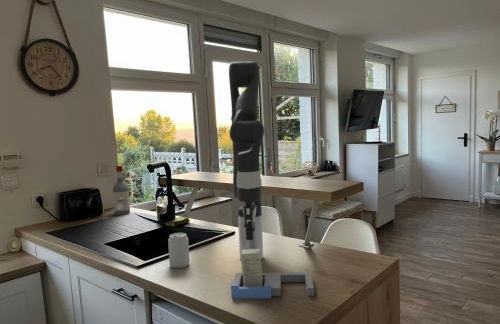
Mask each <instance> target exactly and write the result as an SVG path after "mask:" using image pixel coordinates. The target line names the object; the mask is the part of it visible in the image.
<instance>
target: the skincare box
mask: <svg viewBox="0 0 500 324" xmlns="http://www.w3.org/2000/svg"><path fill="white" fill-rule="evenodd" d="M241 258H242V260H241V269H242V271H241V273H243V283H242V284H243V285H242V287H264V284H263V282H262V273H263V271H262V270H263V268H262V267H263V266H262V259H261V252H260V249H246V250H242V251H241Z"/></svg>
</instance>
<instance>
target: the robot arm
mask: <svg viewBox="0 0 500 324" xmlns="http://www.w3.org/2000/svg"><path fill="white" fill-rule="evenodd" d="M228 81H229V91H230V102H231V103H230V105H231V125H230V129H229V137H230V141H231V142H232V152H233V153H232V154H233V158H232V159H233V163H232V164H233V171H232V174H233V175H232V177H233V178H232V181H233V182H232V185H233V186H232V190H233V195H234V198H236V199H237V200H238V201H239V202H241V203H242V202H244V203H245V204H243V205H241V206H240V207H238V210H237V215H238V216H237V217H238V218H237V219H238V221H237V222H238V240H239V241H238V245H239V246H238V247H239V248H238V249H239V259H240V260H241V261H242V258H241V251H242V250H246V249H260V252H261V260H263V259H264V243H263V240H264V239H263V215H262V214H263V213H262V212H263V211H262V187H263V186H262V178H261V172H260V152H261V147H262V143H263V141H264V140H263V139H264V135H265V127H264V124H263V123H262V122H261V121H259V120H258V97H259V96H258V95H259V88H260V87H259V86H260V67H259V64H258V63H257V61H249V60H248V61H231V62H230V64H229V66H228ZM240 88H241V89H242V88H245V89H244V90H243V91H242V93H241V94H240V91H239V89H240Z"/></svg>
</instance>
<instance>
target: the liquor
mask: <svg viewBox="0 0 500 324" xmlns="http://www.w3.org/2000/svg"><path fill="white" fill-rule="evenodd" d="M115 170H116V176H117V179H116V183H115V184H114V186H113V187H112V195H113V197H112V198H113V199H112V200H113V210H114V211H113V212H114V216H124V215H125V214H126V215H129V214H130V213H131V205H130V204H131V203H130V191H129V186H128V184H127V183H126V182H125V181H124V179H123V178H124V176H123V165H116V166H115ZM126 215H125V216H126Z"/></svg>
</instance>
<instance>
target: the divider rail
mask: <svg viewBox="0 0 500 324" xmlns="http://www.w3.org/2000/svg"><path fill="white" fill-rule="evenodd" d="M262 283H264V284H263V287H243V286H242V284H243V273H242V272H236V273H235V274H234V279H233V283H231V285H230V289H231V299H233V300H234V299H238V300H239V299H241V300H242V299H272V297H281V296H282V284H281V283H304V285H305V289H306V294H307V297H315V286H314V282H313V277H312V273H311V271H308V272H307V271H305V272H304V271H299V272H298V271H297V272H291V271H290V272H285V271H284V272H262Z"/></svg>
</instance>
